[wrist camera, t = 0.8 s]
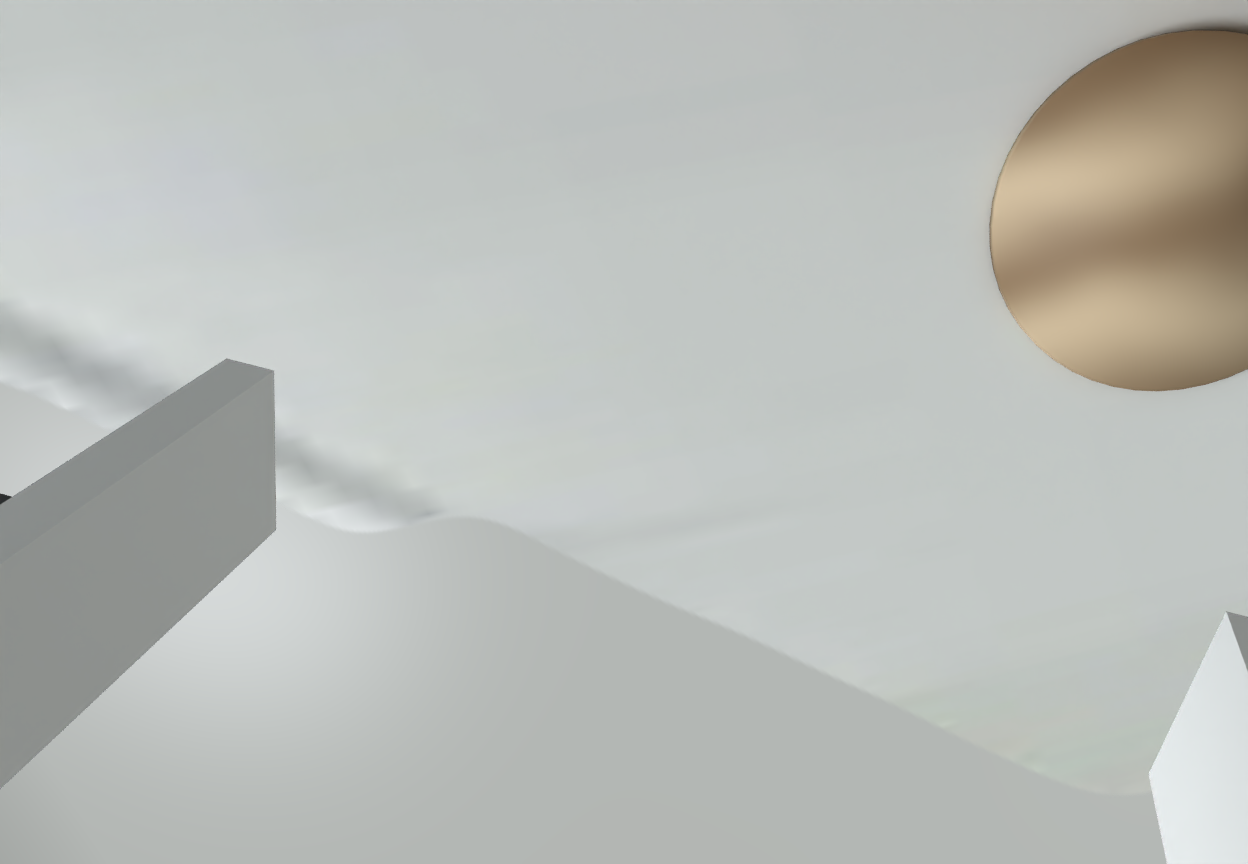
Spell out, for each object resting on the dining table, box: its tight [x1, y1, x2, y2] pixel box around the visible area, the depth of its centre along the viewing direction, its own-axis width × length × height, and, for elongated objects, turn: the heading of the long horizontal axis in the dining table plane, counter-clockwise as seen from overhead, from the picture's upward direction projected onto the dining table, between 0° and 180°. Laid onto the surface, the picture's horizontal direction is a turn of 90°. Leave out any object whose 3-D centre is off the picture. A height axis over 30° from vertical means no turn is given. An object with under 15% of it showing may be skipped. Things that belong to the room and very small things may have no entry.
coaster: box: [990, 30, 1248, 391], centre depth 41 cm, size 13×13×1 cm
